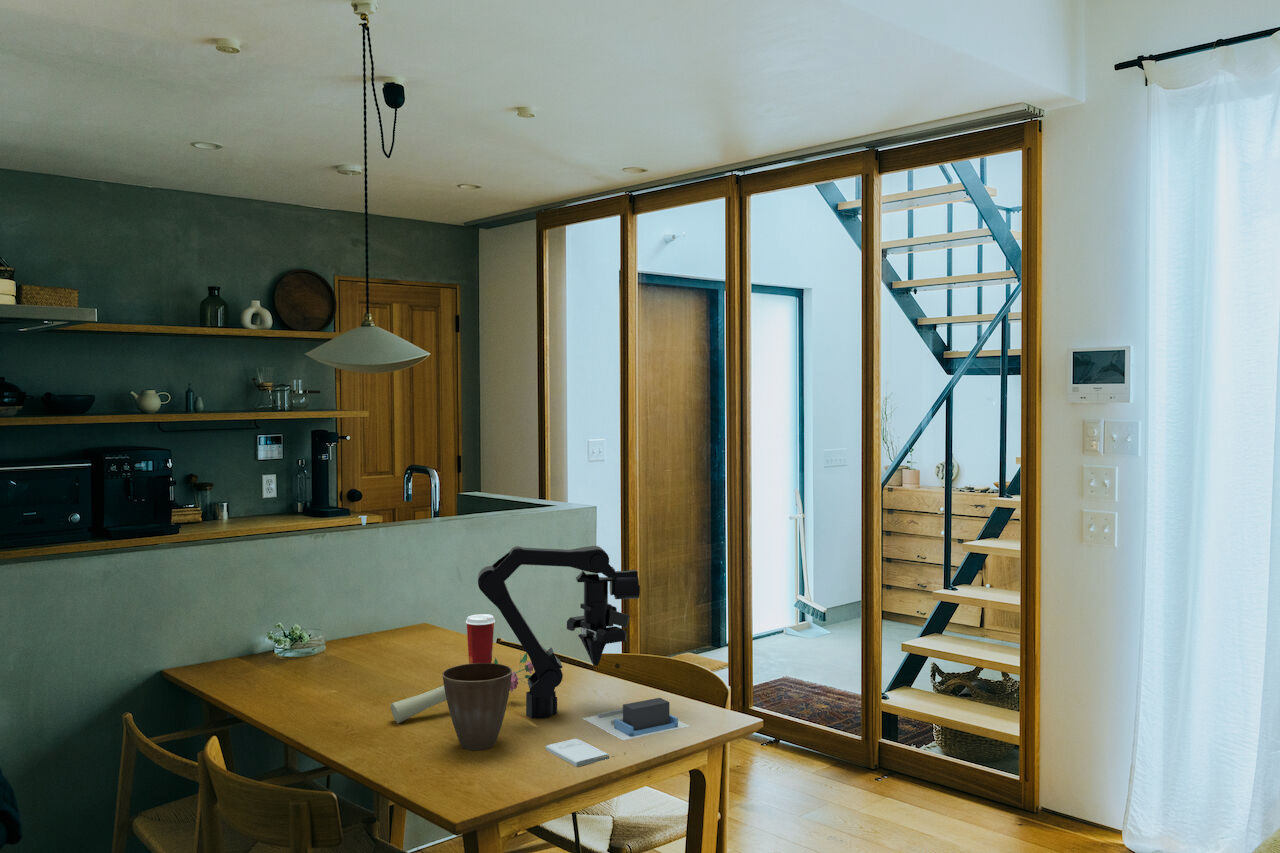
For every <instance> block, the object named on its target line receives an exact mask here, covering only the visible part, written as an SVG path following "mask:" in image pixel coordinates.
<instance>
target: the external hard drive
mask: <svg viewBox="0 0 1280 853" xmlns="http://www.w3.org/2000/svg"><path fill="white" fill-rule="evenodd" d="M545 750H546V751H547V752H549V753H551V754H553V755H554V756H556V757H558V758H560V759H561V760H563V761H565V762H567V763H568V762H569V764H570V763H571V764H570V765H572V764H573V765H572V766H574V767H575V768H577V766H578V767H581V765H582V766H585V765H590V764H593V763H597V762H598V763H599V762H601V761H605V759H606V760H609V759H610V753H608V752H605V751H604V750H602V749H599V748H597V747H595V746H593V745H591V744H589V743H587V742H585V741H583V740H581V739H579V738H572V739H567V740H563V741H559V742H556V743H550V744H547V745H546V746H545Z"/></svg>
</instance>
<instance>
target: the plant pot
mask: <svg viewBox="0 0 1280 853" xmlns="http://www.w3.org/2000/svg"><path fill="white" fill-rule="evenodd" d="M512 672H513V669H512V668H511V667H509V666H508V665H505V664H502V663H498V664H494V662H492V663H472V664H469V663H465V664H459V665H455V666H452V667H449V668H447V669H445V670H444V671H443V672H442V682H443V685H444V689H445V694H446V699H447V700H446V703H447V707H448V710H449V716H450V718H451V722H452V725H453V728H454V731H455V733H456V737H457V739H458V741H459V744H460V747H461V748H463V749H464V750H468V751H482V750H486V749H490V748H493V747H494V746H495V745H496V744H497V740H498V736H499V735H500V732H501V731H500V730H502V729H501V728H502V726H503V721H504V717H505V715H506V714H505V713H506V712H507V711H506V710H507V706H508V701H509V696H510V691H511V690H510V684H511V676H512Z"/></svg>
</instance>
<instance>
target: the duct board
mask: <svg viewBox="0 0 1280 853" xmlns="http://www.w3.org/2000/svg"><path fill="white" fill-rule="evenodd" d="M582 719H583V720H584V721H586V722H588V723H590V724H592V725H593V726H596V727H597V728H599V729H601V730H603V731H604V732H607V733H608V734H611V735H612V736H614V737H616V738H618V739H619V740H621V741H628V740H633V739H637V738H642V737H646V736H651V735H656V734H659V733H666V732H670V731H675V730H678V729H679V730H680V729H684V728H687V727H690V725H689V724H687V723H685V722H682V721H680V720H679V718H678V717H676V716H675V715H672V714H670V713H669V724H665V725H660V726H656V727H651V728H646V729H641V730H636V731H633V727H632V726H630V725H628V724H626V723H624V722H623V708H621V709H615V710H609V711H603V712H599V713H598V712H597V715H593V716H587V717H582Z"/></svg>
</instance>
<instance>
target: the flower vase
mask: <svg viewBox="0 0 1280 853" xmlns="http://www.w3.org/2000/svg"><path fill="white" fill-rule="evenodd" d="M519 655H520V657H522V658H521V659H520V661H519V668H521V667H522V665H521V664H524V663H526V664H525V665H523V667H524V668H523V669H519V671H516V672H515V671H513V670H512V676H511V684H510V691H509V693H513V692H514V690H515V689H517V688H518V685H519V680H520V681H522V682H523V683H525V684H527V685H528V686H529V684H528V682H526V681H523V679H528V678H529V677H530V676H531V675H532V674H533V673H534V668H533V665H532V663H531V661H529V660H527V659H528V654H527V652H526V651H525V653H524V655H523V656H522V655H521V654H519ZM493 663H494V664H499V662H498V659H497V658H496V657H494V661H493ZM523 671H525V673H527V672H528V673H529V674H525V675H524V677H523V678H522V679H520V678H519V677H518V675H517V674H518V673H521V672H523ZM532 672H533V673H532ZM530 674H531V675H530ZM445 701H446V702H447V699H446V694H445V689H444V684H443V685H442V686H439V687H437V688H433V689H431V690H429V691H426V692H423V693H421V694H418V695H417V694H416V695H414V696H410V697H407V698H405V699H401V700H398V701H394V702H392V703H390V710H391V714H392V716H393V720H394V722H396V724H400V723H402V722H404V721H406V720H408V719H410V718H412V717H414V716H415V715H417V714H420V713H422V712H423V711H425V710H427V709H429V708H431V707H433V706H436V705H439V704H441V703H443V702H445Z"/></svg>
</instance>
